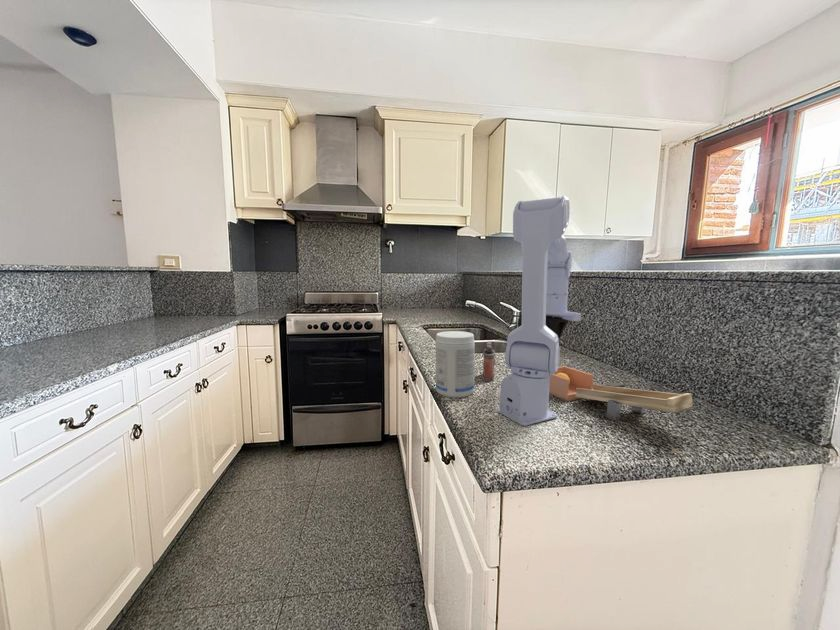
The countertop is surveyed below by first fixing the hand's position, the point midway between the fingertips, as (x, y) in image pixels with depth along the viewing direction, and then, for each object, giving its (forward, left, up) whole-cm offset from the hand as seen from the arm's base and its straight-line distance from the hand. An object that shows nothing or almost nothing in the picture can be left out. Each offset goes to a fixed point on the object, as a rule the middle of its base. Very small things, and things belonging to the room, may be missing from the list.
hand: (553, 344), depth 88 cm
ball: (-4, -7, -8) cm, 11 cm away
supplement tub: (-29, +4, -11) cm, 31 cm away
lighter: (-14, +10, -11) cm, 20 cm away
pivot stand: (-4, -23, -10) cm, 26 cm away
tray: (-4, -8, -10) cm, 14 cm away
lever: (-1, -23, -7) cm, 24 cm away
